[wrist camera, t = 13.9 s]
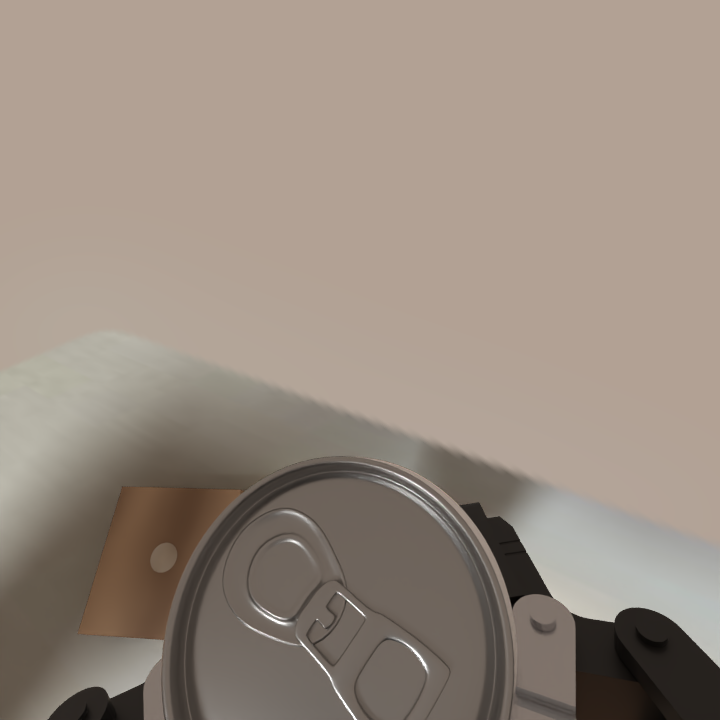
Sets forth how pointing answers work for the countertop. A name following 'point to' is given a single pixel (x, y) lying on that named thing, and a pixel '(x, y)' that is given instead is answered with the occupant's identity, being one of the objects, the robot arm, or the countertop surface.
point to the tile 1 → (148, 558)
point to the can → (340, 605)
